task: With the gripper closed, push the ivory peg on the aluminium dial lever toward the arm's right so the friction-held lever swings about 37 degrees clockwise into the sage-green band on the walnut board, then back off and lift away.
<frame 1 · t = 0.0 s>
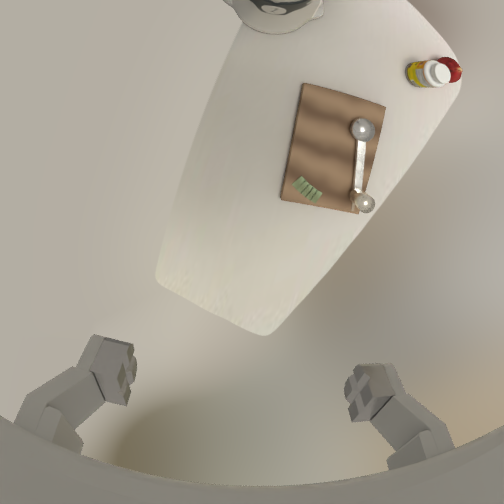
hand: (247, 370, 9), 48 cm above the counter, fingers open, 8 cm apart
dial: (364, 164, 47), point 6 cm above the counter, hinge at 0.0°
supplement bottle: (414, 74, 43), on the counter
onion: (438, 70, 41), on the counter
dial board: (332, 149, 51), on the counter
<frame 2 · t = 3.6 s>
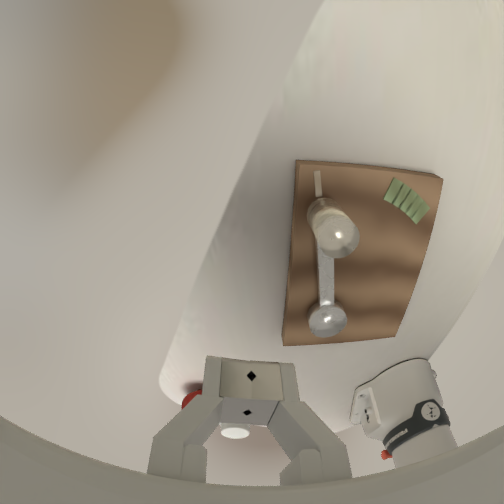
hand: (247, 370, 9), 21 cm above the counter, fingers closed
dial: (331, 287, 27), point 6 cm above the counter, hinge at 0.0°
supplement bottle: (236, 377, 43), on the counter
onion: (201, 389, 44), on the counter
dial board: (357, 262, 32), on the counter
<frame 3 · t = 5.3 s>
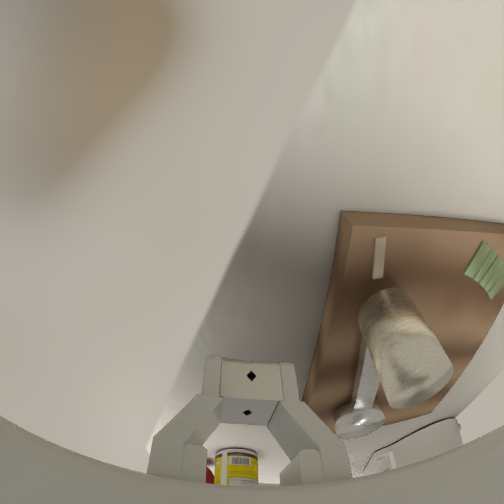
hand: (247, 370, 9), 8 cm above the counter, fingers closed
dial: (377, 406, 15), point 6 cm above the counter, hinge at 0.0°
supplement bottle: (236, 452, 31), on the counter
onion: (196, 458, 33), on the counter
dial board: (405, 345, 21), on the counter
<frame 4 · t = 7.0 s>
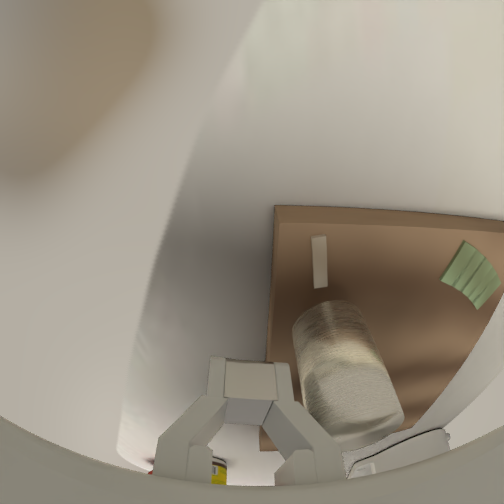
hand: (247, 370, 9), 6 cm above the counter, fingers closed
dial: (330, 433, 13), point 6 cm above the counter, hinge at -0.1°, touching gripper
supplement bottle: (205, 459, 29), on the counter
dial board: (375, 360, 19), on the counter
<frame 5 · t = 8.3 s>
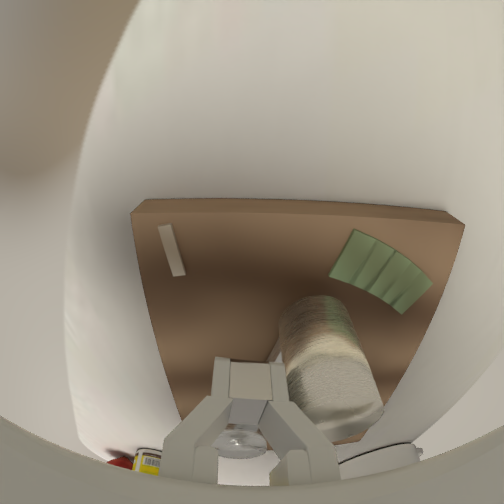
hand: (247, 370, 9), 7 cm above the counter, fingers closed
dial: (265, 432, 13), point 6 cm above the counter, hinge at -26.3°, touching gripper
supplement bottle: (157, 454, 29), on the counter
onion: (125, 456, 30), on the counter
dial board: (291, 363, 19), on the counter
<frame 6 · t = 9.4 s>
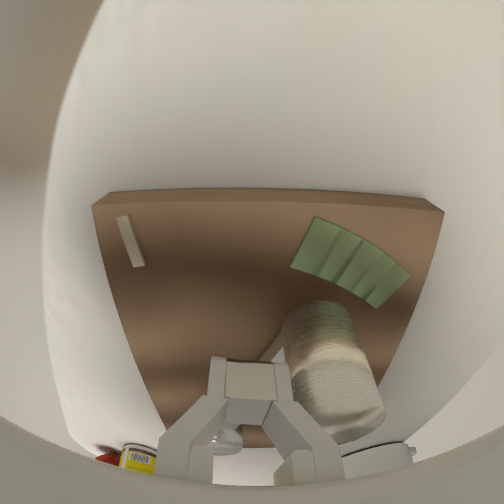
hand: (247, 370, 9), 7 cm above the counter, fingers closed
dial: (250, 431, 13), point 6 cm above the counter, hinge at -35.7°, touching gripper
supplement bottle: (144, 450, 29), on the counter
onion: (115, 451, 30), on the counter
dial board: (265, 358, 18), on the counter
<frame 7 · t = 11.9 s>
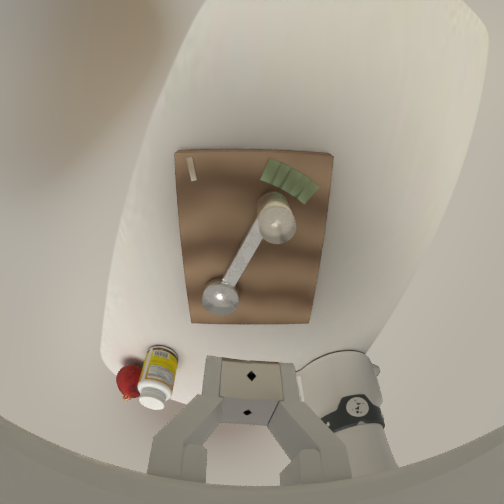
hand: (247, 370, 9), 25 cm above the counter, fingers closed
dial: (242, 268, 30), point 6 cm above the counter, hinge at -35.7°
supplement bottle: (163, 354, 45), on the counter
onion: (137, 364, 47), on the counter
dial board: (251, 243, 35), on the counter
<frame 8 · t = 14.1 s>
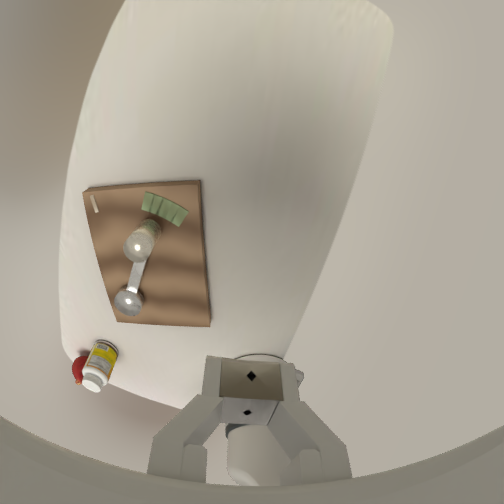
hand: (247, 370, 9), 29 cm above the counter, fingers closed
dial: (132, 279, 36), point 6 cm above the counter, hinge at -35.7°
supplement bottle: (107, 347, 51), on the counter
onion: (90, 356, 53), on the counter
dial board: (151, 258, 41), on the counter
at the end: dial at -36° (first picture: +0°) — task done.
